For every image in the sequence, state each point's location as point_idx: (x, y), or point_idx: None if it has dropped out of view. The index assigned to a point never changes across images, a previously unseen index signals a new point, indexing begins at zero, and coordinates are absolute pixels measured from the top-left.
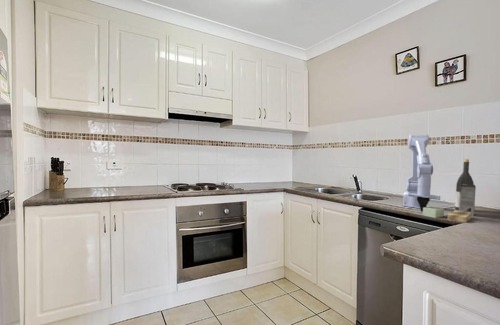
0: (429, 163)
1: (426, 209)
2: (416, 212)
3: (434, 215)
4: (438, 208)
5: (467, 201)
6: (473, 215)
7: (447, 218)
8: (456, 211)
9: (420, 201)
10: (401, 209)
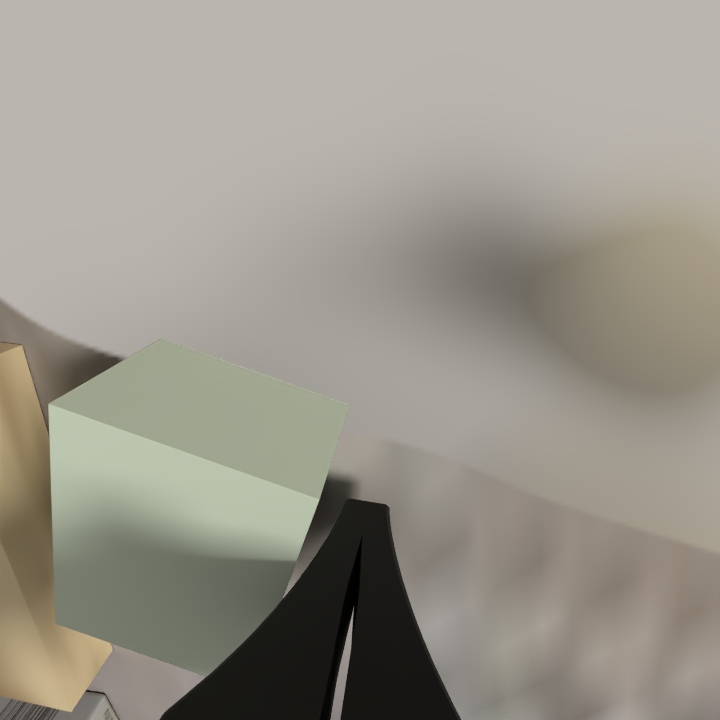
0: None
1: (255, 454)
2: (459, 531)
3: (152, 355)
4: (107, 595)
5: None
6: None
7: (8, 349)
8: (22, 660)
9: (377, 710)
10: (693, 605)
